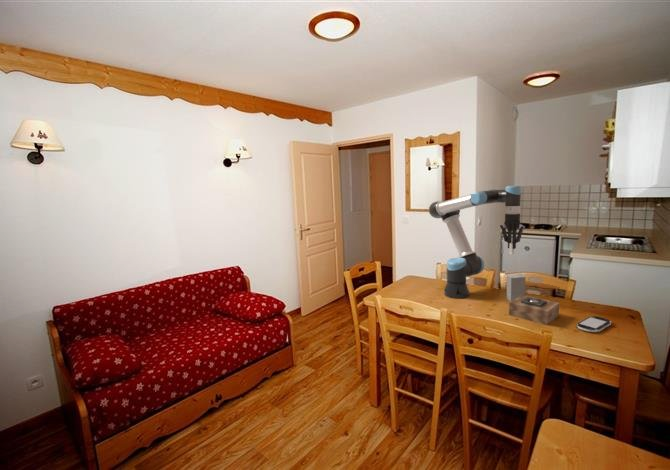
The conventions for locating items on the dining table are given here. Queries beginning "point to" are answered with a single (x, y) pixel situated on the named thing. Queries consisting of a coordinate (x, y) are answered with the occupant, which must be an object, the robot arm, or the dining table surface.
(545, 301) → the socket block
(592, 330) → the gaming console
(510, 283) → the skincare box
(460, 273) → the robot arm
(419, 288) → the dining table surface
